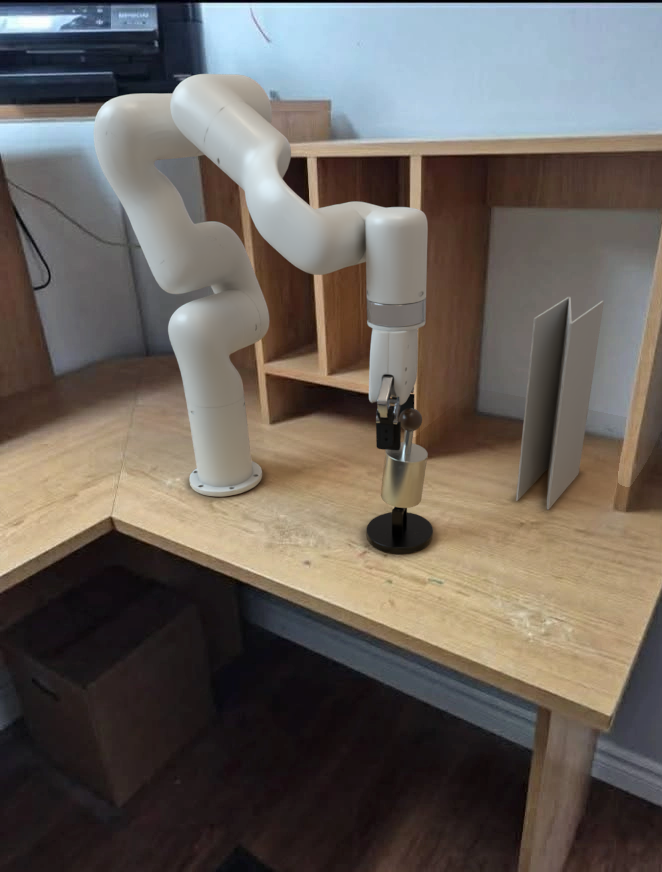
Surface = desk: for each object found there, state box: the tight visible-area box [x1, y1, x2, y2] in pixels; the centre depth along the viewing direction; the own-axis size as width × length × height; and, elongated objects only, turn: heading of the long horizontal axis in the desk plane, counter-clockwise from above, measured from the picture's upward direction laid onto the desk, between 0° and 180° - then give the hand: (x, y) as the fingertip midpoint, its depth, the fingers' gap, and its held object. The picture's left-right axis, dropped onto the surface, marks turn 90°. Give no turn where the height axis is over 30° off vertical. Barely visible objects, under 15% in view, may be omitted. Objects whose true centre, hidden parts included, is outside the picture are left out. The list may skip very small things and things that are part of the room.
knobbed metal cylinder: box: [380, 408, 429, 513], centre depth 98 cm, size 17×6×6 cm
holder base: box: [365, 508, 434, 555], centre depth 103 cm, size 10×10×5 cm
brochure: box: [515, 296, 605, 511], centre depth 109 cm, size 14×6×30 cm, turn 145°
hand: (396, 433), depth 96 cm, fingers open, 9 cm apart
